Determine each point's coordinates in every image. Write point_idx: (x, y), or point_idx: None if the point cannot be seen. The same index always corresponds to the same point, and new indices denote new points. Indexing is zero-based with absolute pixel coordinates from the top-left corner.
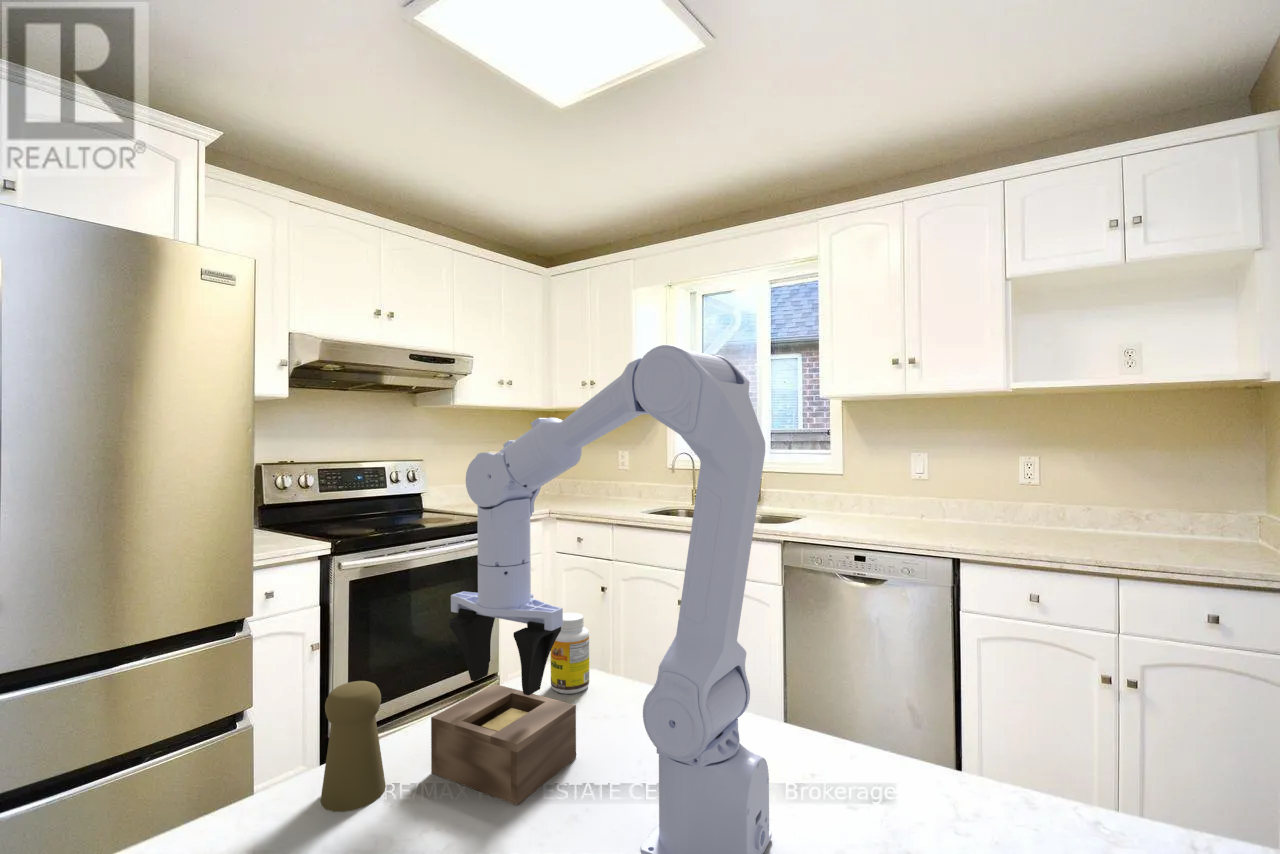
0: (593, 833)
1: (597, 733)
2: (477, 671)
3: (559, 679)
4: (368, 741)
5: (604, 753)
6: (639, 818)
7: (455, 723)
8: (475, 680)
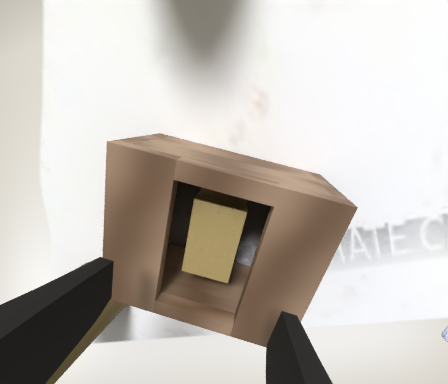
0: (379, 310)
1: (339, 78)
2: (95, 308)
3: None
4: (79, 351)
5: (366, 147)
6: (437, 283)
7: (151, 308)
8: (110, 296)
